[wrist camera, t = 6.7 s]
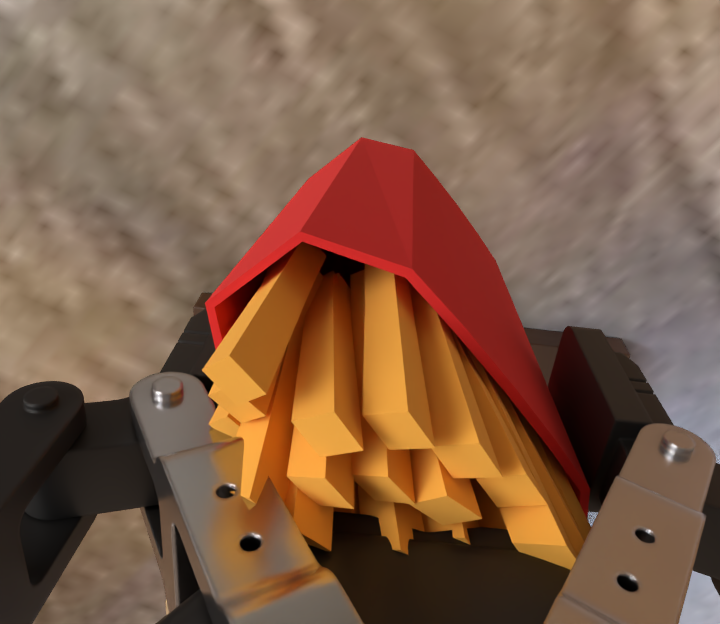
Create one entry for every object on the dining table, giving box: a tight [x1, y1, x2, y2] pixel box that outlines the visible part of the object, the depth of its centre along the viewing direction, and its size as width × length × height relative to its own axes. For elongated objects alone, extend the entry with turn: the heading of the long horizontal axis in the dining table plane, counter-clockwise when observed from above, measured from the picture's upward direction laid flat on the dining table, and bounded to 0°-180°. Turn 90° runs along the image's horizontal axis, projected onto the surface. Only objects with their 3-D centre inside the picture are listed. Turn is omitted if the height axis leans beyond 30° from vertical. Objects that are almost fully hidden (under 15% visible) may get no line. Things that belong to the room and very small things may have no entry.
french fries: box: [202, 137, 591, 570], centre depth 14 cm, size 9×4×13 cm, turn 38°
